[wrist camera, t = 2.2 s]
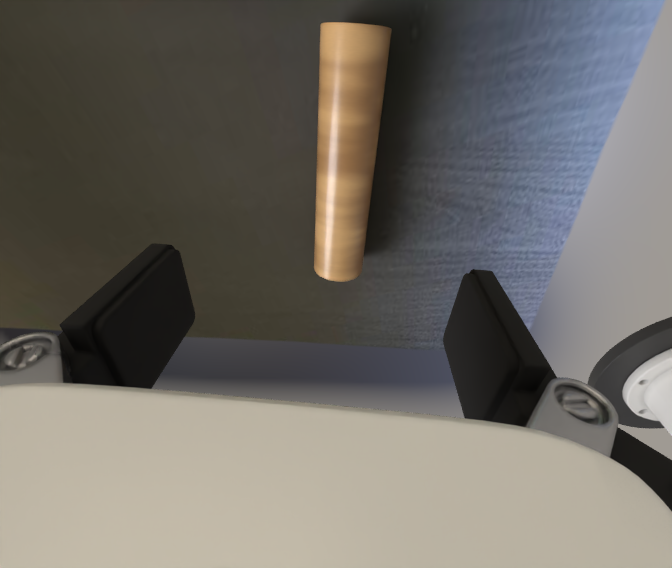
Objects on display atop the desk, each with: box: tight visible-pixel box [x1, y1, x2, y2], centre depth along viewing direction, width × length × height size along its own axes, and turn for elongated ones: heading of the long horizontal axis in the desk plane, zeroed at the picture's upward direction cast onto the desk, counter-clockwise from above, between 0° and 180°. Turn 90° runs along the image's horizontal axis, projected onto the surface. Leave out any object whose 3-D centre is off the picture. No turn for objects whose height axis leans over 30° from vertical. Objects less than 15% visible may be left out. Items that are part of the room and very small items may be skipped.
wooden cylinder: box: [314, 22, 392, 281], centre depth 23 cm, size 16×4×4 cm, turn 177°
